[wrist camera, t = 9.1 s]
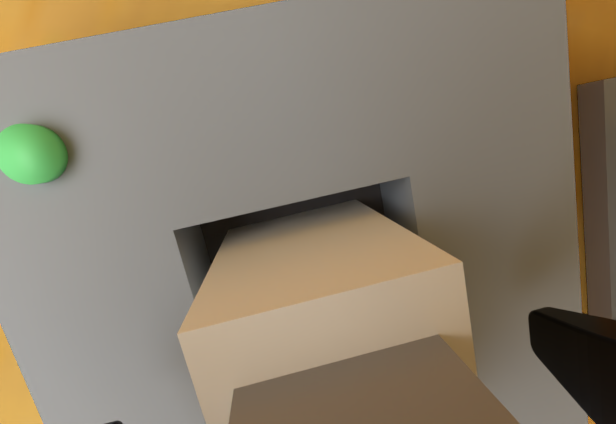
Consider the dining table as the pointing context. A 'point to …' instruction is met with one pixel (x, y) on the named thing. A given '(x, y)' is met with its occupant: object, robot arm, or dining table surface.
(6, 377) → the dining table surface
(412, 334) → the plug
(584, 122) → the holster
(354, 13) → the port
